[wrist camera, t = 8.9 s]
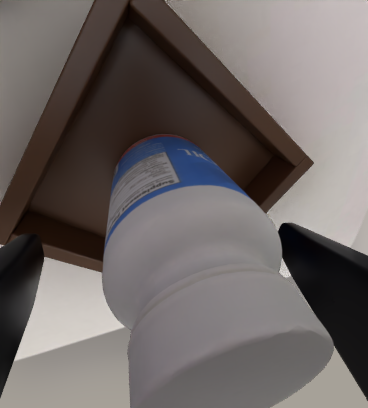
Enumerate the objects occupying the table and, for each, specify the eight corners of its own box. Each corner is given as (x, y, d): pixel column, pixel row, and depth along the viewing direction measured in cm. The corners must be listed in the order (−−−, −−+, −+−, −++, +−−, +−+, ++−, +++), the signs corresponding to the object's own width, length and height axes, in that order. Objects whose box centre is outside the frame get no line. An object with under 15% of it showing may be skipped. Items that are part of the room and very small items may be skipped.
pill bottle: (224, 182, 13) (383, 357, 5) (157, 233, 14) (204, 453, 6) (169, 106, 10) (346, 238, 2) (89, 176, 11) (-1, 463, 3)
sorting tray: (285, 149, 14) (314, 163, 12) (178, 269, 17) (186, 296, 15) (118, -20, 8) (117, -52, 6) (8, 209, 11) (-17, 240, 9)
